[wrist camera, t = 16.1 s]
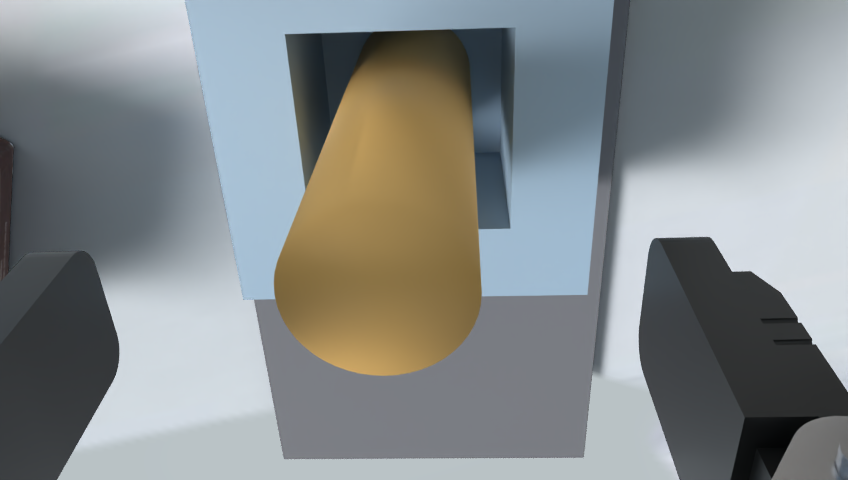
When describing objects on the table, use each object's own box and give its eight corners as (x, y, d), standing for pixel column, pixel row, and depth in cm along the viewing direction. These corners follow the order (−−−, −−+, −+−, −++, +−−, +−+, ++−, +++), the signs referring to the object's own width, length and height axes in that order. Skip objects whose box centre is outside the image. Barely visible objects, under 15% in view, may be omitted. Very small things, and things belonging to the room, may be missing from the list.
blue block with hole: (559, 193, 22) (587, 294, 17) (283, 199, 22) (243, 299, 18) (579, -113, 18) (621, -79, 13) (238, -100, 18) (172, -63, 14)
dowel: (470, 124, 20) (482, 375, 11) (362, 127, 20) (287, 376, 11) (469, 13, 18) (481, 199, 9) (353, 17, 18) (259, 202, 10)
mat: (582, 449, 28) (583, 457, 28) (285, 450, 28) (283, 458, 28) (642, -166, 18) (646, -165, 17) (176, -148, 18) (170, -146, 18)
